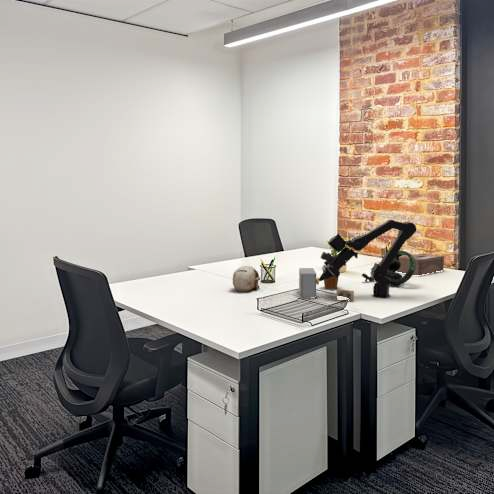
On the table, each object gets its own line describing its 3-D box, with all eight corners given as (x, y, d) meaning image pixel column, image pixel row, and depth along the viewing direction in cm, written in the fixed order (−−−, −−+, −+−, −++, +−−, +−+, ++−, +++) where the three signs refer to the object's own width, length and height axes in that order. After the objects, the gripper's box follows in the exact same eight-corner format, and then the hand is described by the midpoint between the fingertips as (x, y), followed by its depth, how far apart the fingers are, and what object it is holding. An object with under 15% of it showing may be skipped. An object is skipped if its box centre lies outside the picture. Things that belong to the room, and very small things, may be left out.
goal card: (353, 301, 244) (353, 290, 243) (352, 301, 242) (352, 291, 242) (336, 299, 247) (337, 289, 247) (336, 300, 246) (336, 289, 245)
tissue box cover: (417, 277, 305) (418, 260, 304) (397, 273, 316) (397, 257, 315) (443, 272, 320) (443, 256, 319) (422, 269, 332) (423, 253, 330)
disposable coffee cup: (325, 290, 268) (325, 267, 267) (319, 287, 277) (319, 264, 276) (342, 289, 270) (343, 266, 268) (336, 286, 279) (336, 263, 278)
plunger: (318, 283, 256) (318, 276, 255) (318, 285, 252) (318, 278, 252) (306, 283, 256) (306, 277, 256) (306, 285, 253) (306, 278, 252)
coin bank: (256, 285, 283) (255, 261, 280) (265, 294, 267) (265, 269, 264) (227, 287, 279) (227, 263, 276) (235, 298, 263) (235, 272, 260)
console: (314, 291, 266) (314, 268, 265) (317, 298, 250) (317, 273, 249) (299, 291, 267) (299, 268, 265) (301, 298, 251) (301, 273, 249)
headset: (378, 297, 290) (421, 279, 269) (360, 289, 283) (403, 270, 263) (376, 269, 299) (418, 249, 278) (359, 261, 293) (400, 240, 272)
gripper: (328, 244, 261) (306, 265, 263) (333, 248, 242) (309, 272, 244) (344, 259, 262) (321, 281, 263) (350, 265, 243) (325, 288, 245)
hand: (319, 280), depth 254 cm, fingers closed, pressing on plunger
